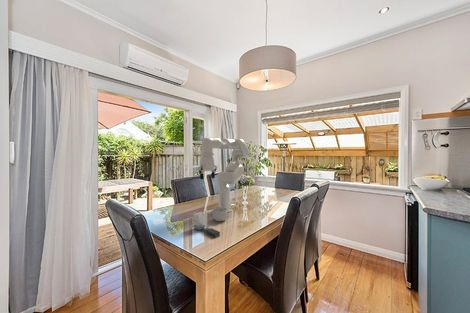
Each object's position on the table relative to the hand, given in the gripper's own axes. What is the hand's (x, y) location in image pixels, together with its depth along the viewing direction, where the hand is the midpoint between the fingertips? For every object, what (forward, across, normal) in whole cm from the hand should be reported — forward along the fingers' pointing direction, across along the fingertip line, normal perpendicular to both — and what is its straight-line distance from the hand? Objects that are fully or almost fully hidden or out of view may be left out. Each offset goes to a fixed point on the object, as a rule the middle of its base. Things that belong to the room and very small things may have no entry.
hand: (207, 178), depth 149 cm
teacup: (+29, -4, +10) cm, 31 cm away
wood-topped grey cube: (+26, +16, +15) cm, 34 cm away
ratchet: (+28, +16, +21) cm, 39 cm away
